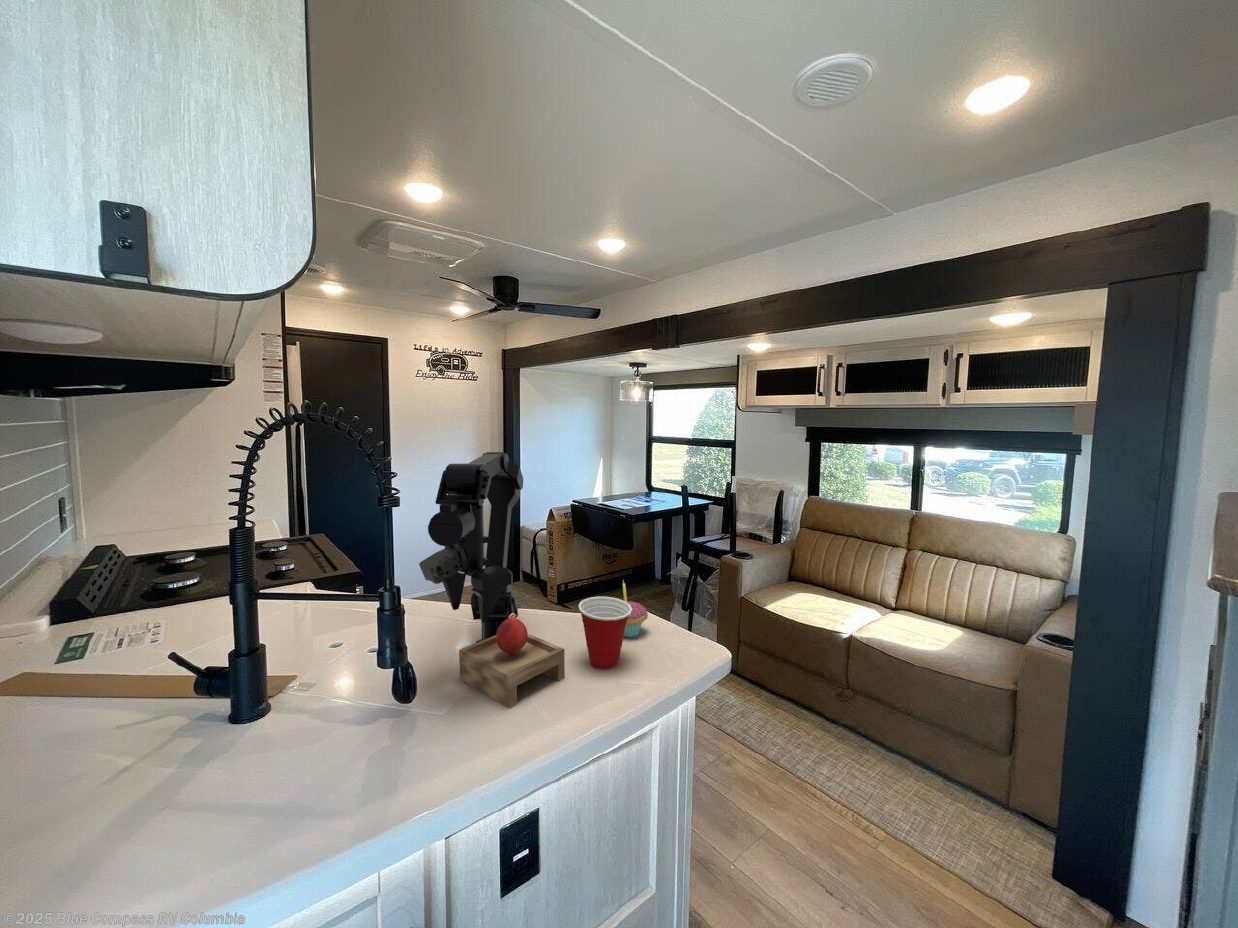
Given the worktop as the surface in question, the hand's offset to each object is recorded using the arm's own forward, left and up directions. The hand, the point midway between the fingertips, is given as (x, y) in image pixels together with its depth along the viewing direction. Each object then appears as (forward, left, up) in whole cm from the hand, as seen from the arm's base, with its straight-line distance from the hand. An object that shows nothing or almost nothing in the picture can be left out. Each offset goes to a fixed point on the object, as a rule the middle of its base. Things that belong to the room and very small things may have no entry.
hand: (469, 615), depth 91 cm
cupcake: (+9, +36, -13) cm, 39 cm away
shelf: (+5, +6, -13) cm, 15 cm away
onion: (+5, +6, -9) cm, 11 cm away
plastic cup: (+14, +22, -13) cm, 29 cm away
